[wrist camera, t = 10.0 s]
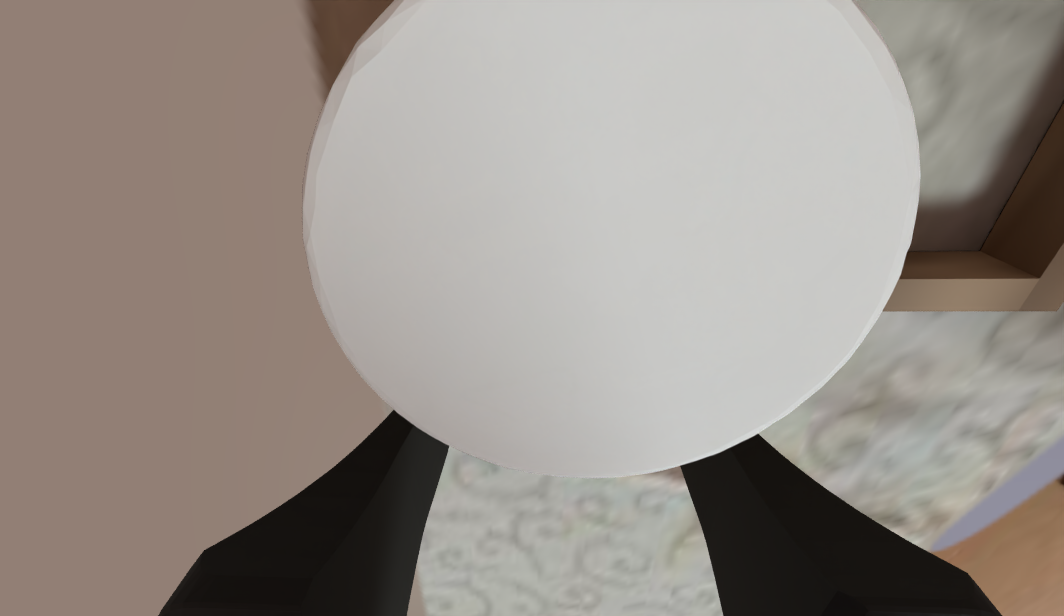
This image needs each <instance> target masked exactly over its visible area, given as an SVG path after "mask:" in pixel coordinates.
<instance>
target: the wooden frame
mask: <svg viewBox="0 0 1064 616" xmlns="http://www.w3.org/2000/svg"><path fill="white" fill-rule="evenodd" d="M1063 302H1064V103H1063V105H1062V107H1061V109H1060V110H1059V112H1058V114H1057V116H1056V117H1055V119H1054V121H1053V123H1052V124H1051V126H1050V128H1049V130H1048V132H1047V133H1046V135H1045V137H1044V139H1043V140H1042V142H1041V144H1040V146H1039V147H1038V149H1037V151H1036V153H1035V155H1034V156H1033V158H1032V160H1031V162H1030V163H1029V165H1028V167H1027V169H1026V170H1025V172H1024V174H1023V176H1022V178H1021V179H1020V181H1019V183H1018V185H1017V186H1016V188H1015V190H1014V192H1013V193H1012V195H1011V197H1010V199H1009V201H1008V202H1007V204H1006V206H1005V208H1004V209H1003V211H1002V213H1001V215H1000V216H999V218H998V220H997V222H996V224H995V225H994V227H993V229H992V231H991V232H990V234H989V236H988V238H987V239H986V241H985V243H984V245H983V247H982V248H981V250H980V251H935V252H907V254H906V257H905V261H904V265H903V268H902V272H901V275H900V277H899V279H898V281H897V284H896V286H895V288H894V290H893V292H892V294H891V296H890V298H889V300H888V302H887V303H886V305H885V307H884V309H883V311H1057V310H1058V309H1059V307H1060V306H1061V305H1062V303H1063Z"/></svg>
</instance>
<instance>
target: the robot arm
mask: <svg viewBox="0 0 1064 616" xmlns="http://www.w3.org/2000/svg"><path fill="white" fill-rule="evenodd" d="M448 448H449V445H447V444H445V443H443V442H441V441H439V440H437V439H435V438H434V437H432V436H430V435H428V434H427V433H425V432H424V431H422V430H420V429H419V428H417V427H416V426H415V425H413V424H412V423H410V422H409V421H408V420H406V419H405V418H404V417H402V416H401V415H400V414H398V413H397V412H396V411H395V410H393V411H392V412H391V413H390V414H389V415H388V416H387V418H386V419H385V420H384V421H383V422H382V423H381V424H380V425H379V426H378V427H377V428H376V429H375V430H374V431H373V432H372V433H371V434H370V435H369V436H368V437H367V438H366V439H365V440H364V441H363V442H362V443H361V444H359V445H358V446H357V447H356V448H355V449H354V450H353V451H352V452H351V453H350V454H349V455H347V456H346V457H345V458H344V459H343V460H341V461H340V462H339V463H338V464H337V465H336V466H334V467H333V468H332V469H331V470H329V471H328V472H327V473H326V474H324V475H323V476H322V477H320V478H319V479H317V480H316V481H315V482H313V483H312V484H311V485H309V486H308V487H307V488H305V489H304V490H303V491H301V492H300V493H298V494H297V495H296V496H294V497H293V498H291V499H290V500H288V501H287V502H285V503H284V504H282V505H281V506H279V507H278V508H276V509H274V510H273V511H271V512H270V513H268V514H267V515H265V516H263V517H262V518H260V519H259V520H257V521H255V522H254V523H252V524H250V525H249V526H247V527H245V528H243V529H242V530H240V531H238V532H236V533H235V534H233V535H231V536H229V537H228V538H226V539H224V540H222V541H220V542H219V543H217V544H215V545H213V546H211V547H209V548H208V549H206V550H204V551H203V553H202V554H201V555H200V556H199V558H198V559H197V561H196V562H195V563H194V564H193V566H192V567H191V568H190V570H189V571H188V573H187V574H186V576H185V577H184V579H183V580H182V581H181V583H180V584H179V586H178V587H177V589H176V590H175V591H174V593H173V594H172V596H171V597H170V599H169V600H168V602H167V603H166V604H165V606H164V607H163V609H162V610H161V612H160V614H159V615H158V616H407V611H408V604H409V600H410V595H411V589H412V584H413V579H414V574H415V569H416V564H417V559H418V555H419V550H420V545H421V540H422V536H423V532H424V528H425V524H426V521H427V517H428V514H429V511H430V508H431V504H432V501H433V498H434V495H435V492H436V488H437V485H438V482H439V479H440V476H441V472H442V469H443V466H444V463H445V459H446V456H447V453H448ZM680 467H681V469H682V472H683V475H684V478H685V481H686V484H687V487H688V490H689V492H690V495H691V498H692V501H693V504H694V507H695V510H696V512H697V515H698V518H699V521H700V524H701V527H702V530H703V533H704V537H705V540H706V543H707V547H708V551H709V556H710V560H711V564H712V568H713V572H714V576H715V580H716V585H717V589H718V594H719V598H720V602H721V607H722V611H723V616H1002V615H1001V614H1000V613H999V611H998V610H997V609H996V608H995V606H994V605H993V604H992V603H991V601H990V600H989V599H988V598H987V596H986V595H985V594H984V593H983V591H982V590H981V589H980V588H979V586H978V585H977V584H976V583H975V581H974V580H973V579H972V578H971V577H970V576H969V575H968V573H966V572H965V571H963V570H961V569H959V568H957V567H955V566H953V565H952V564H950V563H948V562H946V561H944V560H942V559H940V558H939V557H937V556H935V555H933V554H931V553H929V552H927V551H926V550H924V549H922V548H920V547H918V546H916V545H914V544H912V543H911V542H909V541H907V540H905V539H904V538H902V537H900V536H899V535H897V534H895V533H894V532H892V531H890V530H889V529H887V528H885V527H884V526H882V525H880V524H879V523H877V522H875V521H874V520H872V519H871V518H869V517H867V516H866V515H864V514H863V513H861V512H859V511H858V510H856V509H855V508H853V507H852V506H850V505H849V504H847V503H846V502H845V501H843V500H842V499H840V498H839V497H837V496H836V495H834V494H833V493H831V492H830V491H828V490H827V489H826V488H824V487H823V486H821V485H820V484H819V483H817V482H816V481H815V480H813V479H812V478H811V477H809V476H808V475H807V474H805V473H804V472H803V471H802V470H800V469H799V468H798V467H796V466H795V465H794V464H792V463H791V462H790V461H789V460H788V459H786V458H785V457H784V456H783V455H782V454H780V453H779V452H778V451H777V450H776V449H775V448H773V447H772V446H771V445H770V444H769V443H768V442H767V441H766V440H764V439H763V438H762V437H761V436H760V435H759V434H756V435H755V436H753V437H751V438H749V439H747V440H744V441H742V442H740V443H738V444H736V445H734V446H732V447H730V448H728V449H726V450H724V451H722V452H720V453H717V454H714V455H711V456H708V457H705V458H702V459H700V460H697V461H694V462H690V463H687V464H684V465H680Z"/></svg>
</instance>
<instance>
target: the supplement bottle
mask: <svg viewBox="0 0 1064 616" xmlns="http://www.w3.org/2000/svg"><path fill="white" fill-rule="evenodd" d="M920 177H921V172H920V157H919V141H918V136H917V130H916V124H915V119H914V113H913V108H912V105H911V102H910V99H909V96H908V93H907V90H906V88H905V85H904V82H903V79H902V77H901V74H900V71H899V69H898V66H897V64H896V61H895V59H894V57H893V55H892V53H891V52H890V50H889V48H888V46H887V44H886V43H885V41H884V39H883V37H882V35H881V34H880V32H879V30H878V28H877V27H876V26H875V24H874V23H873V22H872V21H871V19H870V18H869V17H868V16H867V15H866V13H865V12H864V11H863V10H862V8H861V7H860V6H859V5H858V4H857V2H856V1H855V0H394V1H393V2H392V3H391V4H390V5H389V6H388V7H387V8H386V9H385V11H384V12H383V13H382V14H381V15H380V16H379V17H378V18H377V19H376V20H375V21H374V23H373V24H372V25H371V26H370V27H369V28H368V30H367V31H366V32H365V33H364V34H363V35H362V37H361V38H360V39H359V40H358V41H357V42H356V44H355V46H354V48H353V49H352V51H351V53H350V55H349V57H348V58H347V60H346V62H345V64H344V66H343V67H342V69H341V71H340V73H339V75H338V76H337V78H336V80H335V82H334V84H333V86H332V88H331V90H330V92H329V94H328V97H327V99H326V101H325V103H324V106H323V108H322V110H321V112H320V114H319V117H318V120H317V123H316V126H315V130H314V133H313V137H312V140H311V143H310V147H309V150H308V153H307V159H306V166H305V173H304V180H303V187H302V188H303V189H302V225H303V243H304V247H305V253H306V257H307V263H308V268H309V272H310V276H311V281H312V284H313V289H314V292H315V294H316V297H317V299H318V302H319V305H320V307H321V309H322V312H323V314H324V316H325V319H326V320H327V323H328V325H329V327H330V330H331V332H332V334H333V335H334V337H335V339H336V340H337V342H338V344H339V345H340V347H341V349H342V350H343V352H344V353H345V355H346V356H347V358H348V360H349V361H350V363H351V364H352V365H353V367H354V368H355V370H356V371H357V372H358V373H359V375H360V376H361V377H362V378H363V380H364V381H365V382H366V383H367V384H368V385H369V386H370V387H371V388H372V389H373V390H374V391H375V392H376V393H377V394H378V395H379V396H380V397H381V398H382V399H383V400H384V401H385V402H386V403H387V404H388V405H389V406H391V407H392V408H393V409H394V410H395V411H396V412H397V413H398V414H400V415H401V416H402V417H404V418H405V419H406V420H408V421H409V422H410V423H412V424H413V425H415V426H416V427H417V428H419V429H420V430H422V431H424V432H425V433H427V434H428V435H430V436H432V437H434V438H435V439H437V440H439V441H441V442H443V443H445V444H447V445H449V446H451V447H453V448H455V449H457V450H459V451H462V452H464V453H466V454H468V455H471V456H474V457H476V458H479V459H482V460H484V461H487V462H490V463H493V464H496V465H499V466H502V467H505V468H509V469H513V470H518V471H523V472H527V473H534V474H543V475H550V476H558V477H573V478H608V477H624V476H632V475H639V474H646V473H652V472H658V471H662V470H665V469H669V468H673V467H677V466H680V465H684V464H687V463H690V462H694V461H697V460H700V459H702V458H705V457H708V456H711V455H714V454H717V453H720V452H722V451H724V450H726V449H728V448H730V447H732V446H734V445H736V444H738V443H740V442H742V441H744V440H747V439H749V438H751V437H753V436H755V435H756V434H758V433H759V432H761V431H763V430H764V429H766V428H767V427H769V426H770V425H772V424H774V423H775V422H777V421H778V420H780V419H781V418H783V417H785V416H786V415H788V414H789V413H790V412H792V411H793V410H794V409H795V408H797V407H798V406H799V405H800V404H802V403H803V402H804V401H805V400H806V399H808V398H809V397H810V396H811V395H813V394H814V393H815V392H816V391H818V390H819V389H820V388H821V387H822V386H823V385H824V384H825V383H826V382H827V381H828V380H829V379H830V378H831V377H832V376H833V375H834V374H835V373H836V372H837V371H838V370H839V369H840V368H841V367H842V366H843V365H844V364H845V363H846V362H847V361H848V360H849V359H850V357H851V356H852V355H853V353H854V352H855V351H856V349H857V348H858V347H859V345H860V344H861V343H862V341H863V340H864V339H865V337H866V336H867V334H868V333H869V331H870V330H871V328H872V327H873V325H874V324H875V322H876V321H877V319H878V318H879V316H880V314H881V312H882V311H883V309H884V307H885V305H886V303H887V302H888V300H889V298H890V296H891V294H892V292H893V290H894V288H895V286H896V284H897V281H898V279H899V277H900V275H901V272H902V268H903V265H904V261H905V257H906V254H907V251H908V249H909V247H910V245H911V241H912V236H913V230H914V225H915V220H916V214H917V208H918V202H919V190H920Z"/></svg>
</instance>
